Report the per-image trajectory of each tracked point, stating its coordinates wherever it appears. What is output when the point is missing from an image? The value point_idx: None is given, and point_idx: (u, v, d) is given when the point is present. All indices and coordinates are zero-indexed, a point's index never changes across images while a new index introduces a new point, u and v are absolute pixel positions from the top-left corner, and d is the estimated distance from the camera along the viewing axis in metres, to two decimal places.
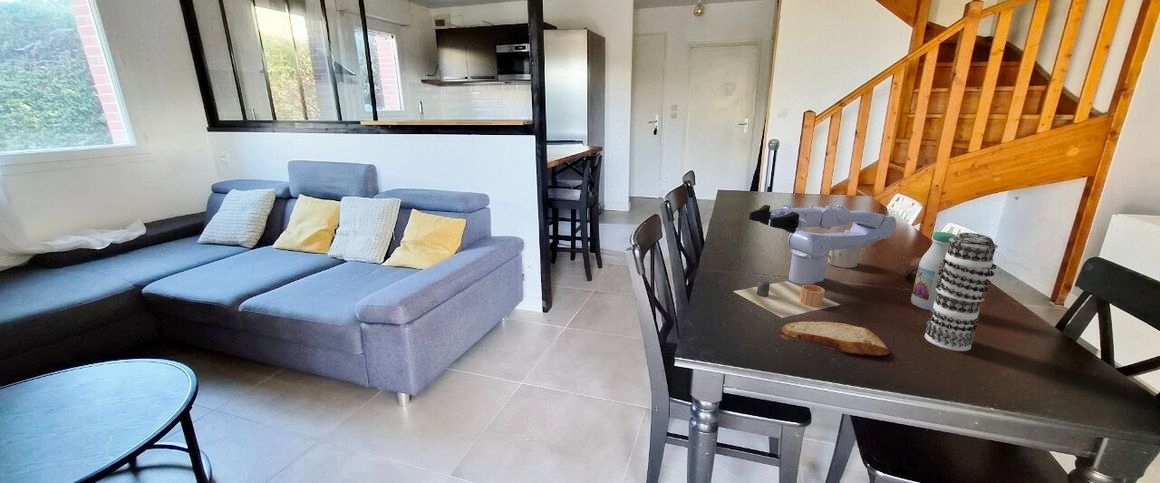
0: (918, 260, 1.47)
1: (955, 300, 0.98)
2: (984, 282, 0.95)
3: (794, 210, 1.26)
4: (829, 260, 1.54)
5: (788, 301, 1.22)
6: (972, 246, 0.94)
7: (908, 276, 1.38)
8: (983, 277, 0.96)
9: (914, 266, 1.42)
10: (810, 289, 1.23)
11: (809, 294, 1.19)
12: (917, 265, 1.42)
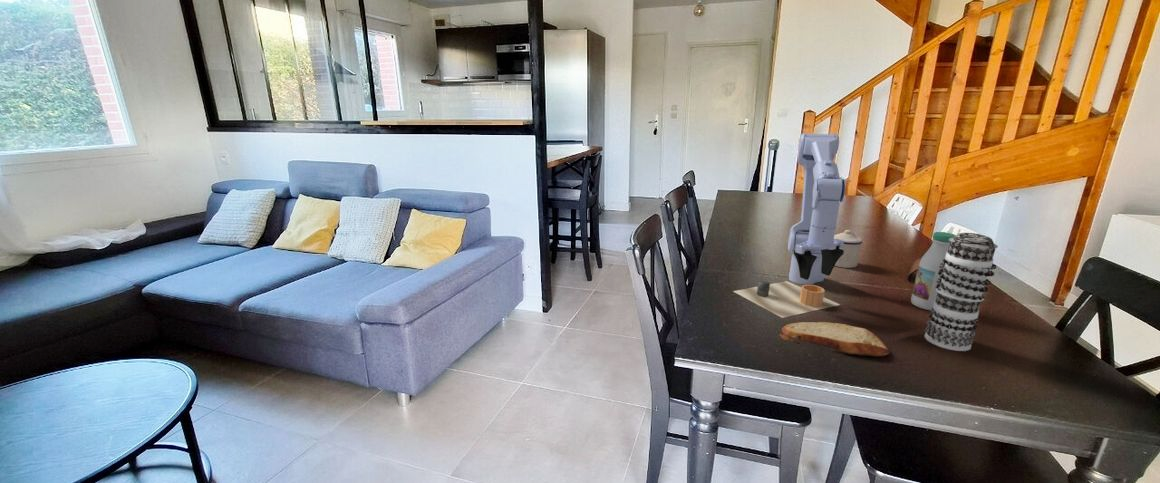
0: None
1: (955, 300, 0.98)
2: (984, 282, 0.95)
3: (833, 239, 1.15)
4: None
5: (788, 301, 1.22)
6: (972, 246, 0.94)
7: (910, 276, 1.38)
8: (983, 277, 0.96)
9: (916, 266, 1.41)
10: (810, 289, 1.23)
11: (809, 294, 1.19)
12: None
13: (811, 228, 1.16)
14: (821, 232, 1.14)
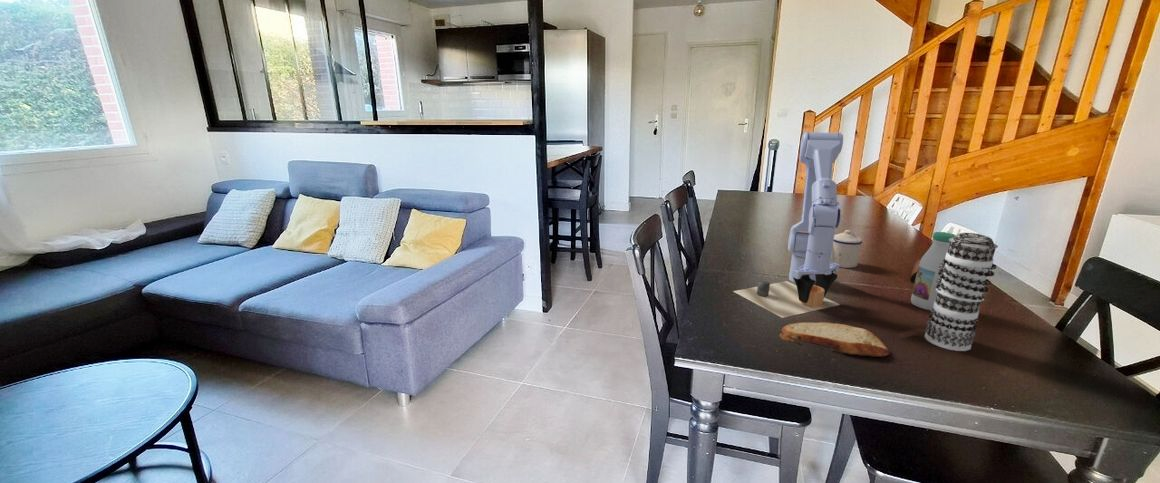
0: None
1: (955, 300, 0.98)
2: (984, 282, 0.95)
3: (829, 264, 1.17)
4: None
5: (788, 301, 1.22)
6: (972, 246, 0.94)
7: (912, 277, 1.38)
8: (983, 277, 0.96)
9: None
10: None
11: None
12: None
13: (807, 253, 1.18)
14: (817, 257, 1.16)
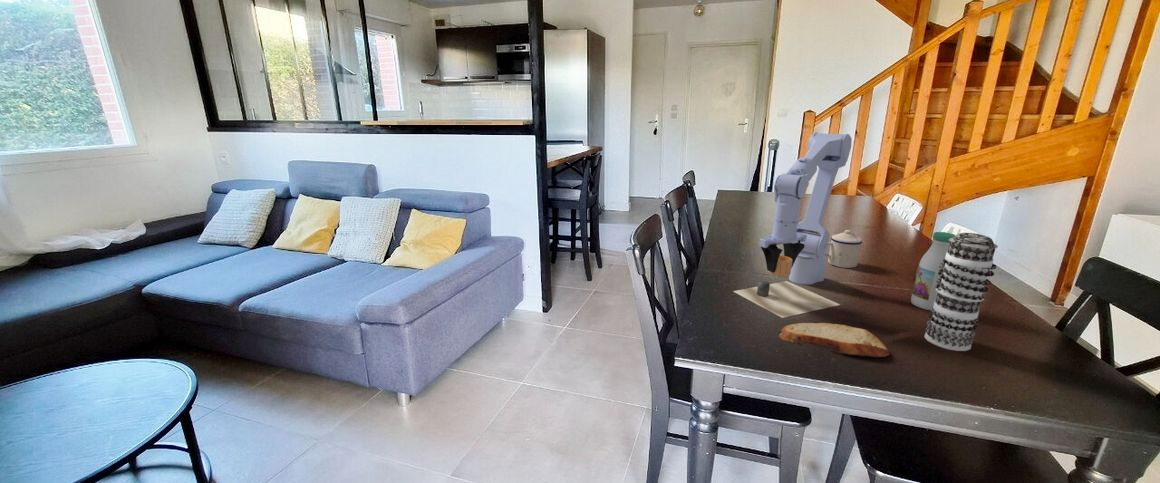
0: None
1: (955, 300, 0.98)
2: (984, 282, 0.95)
3: (795, 233, 1.18)
4: (829, 260, 1.54)
5: (788, 301, 1.22)
6: (972, 246, 0.94)
7: None
8: (983, 277, 0.96)
9: None
10: (779, 259, 1.24)
11: (777, 263, 1.20)
12: None
13: (774, 222, 1.19)
14: (784, 226, 1.17)
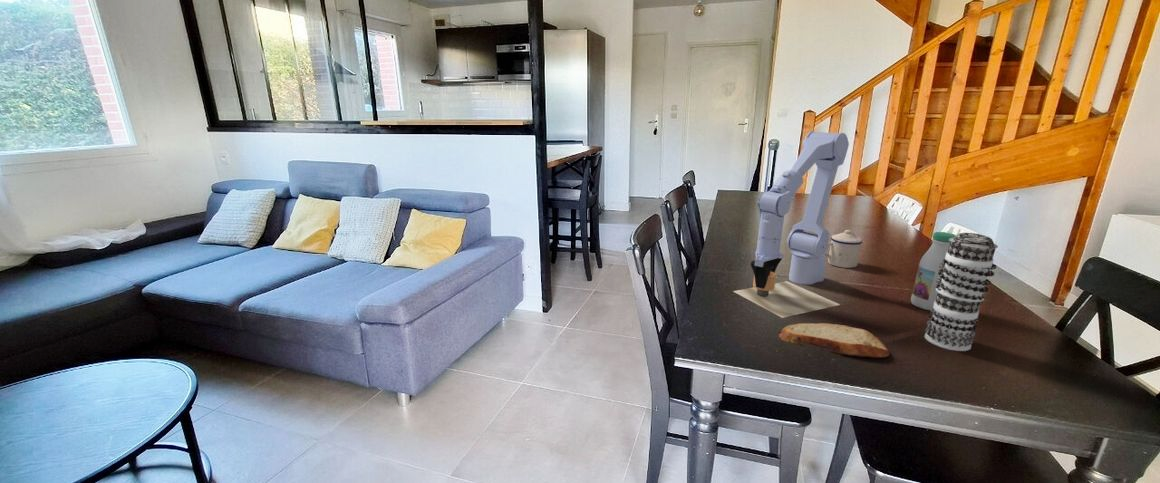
0: None
1: (955, 300, 0.98)
2: (984, 282, 0.95)
3: None
4: (829, 260, 1.54)
5: (788, 301, 1.22)
6: (972, 246, 0.94)
7: None
8: (983, 277, 0.96)
9: None
10: None
11: None
12: None
13: (762, 240, 1.21)
14: (773, 243, 1.20)
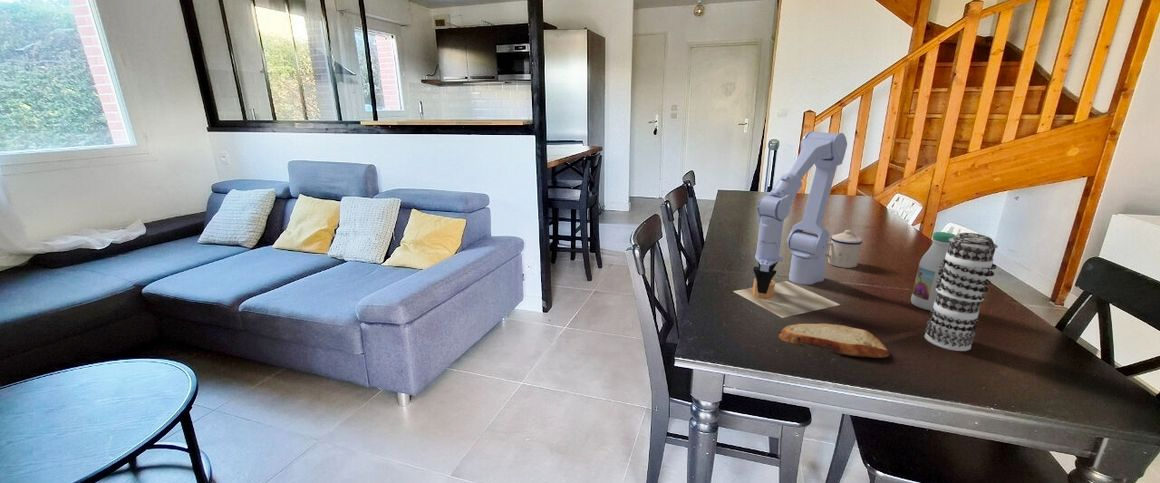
0: None
1: (955, 300, 0.98)
2: (984, 282, 0.95)
3: None
4: (829, 260, 1.54)
5: (788, 301, 1.22)
6: (972, 246, 0.94)
7: None
8: (983, 277, 0.96)
9: None
10: None
11: None
12: None
13: (763, 245, 1.21)
14: (775, 247, 1.20)
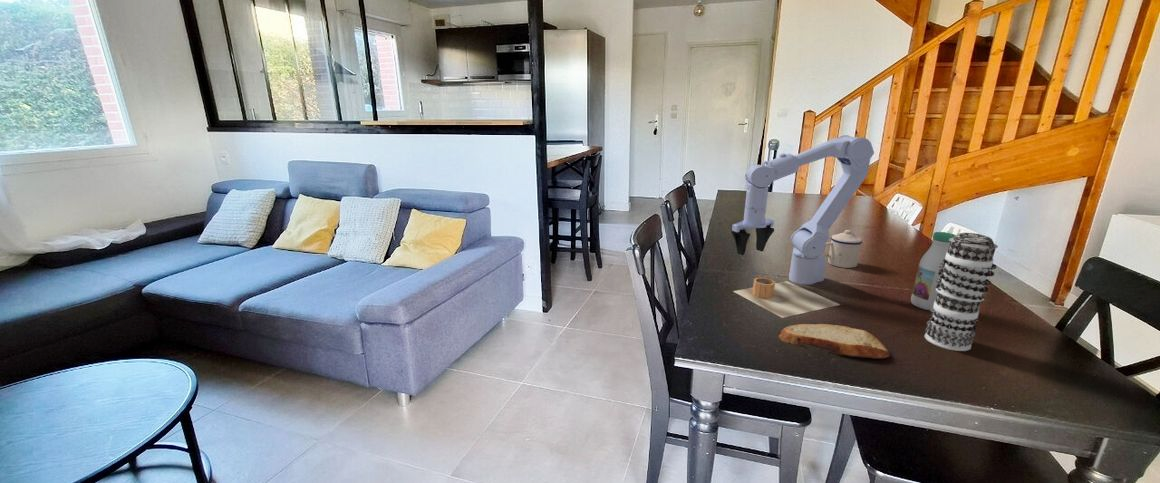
0: None
1: (955, 300, 0.98)
2: (984, 282, 0.95)
3: (764, 219, 1.31)
4: (829, 260, 1.54)
5: (788, 301, 1.22)
6: (972, 246, 0.94)
7: None
8: (983, 277, 0.96)
9: None
10: (757, 282, 1.28)
11: (768, 287, 1.23)
12: None
13: (745, 209, 1.32)
14: (753, 212, 1.30)
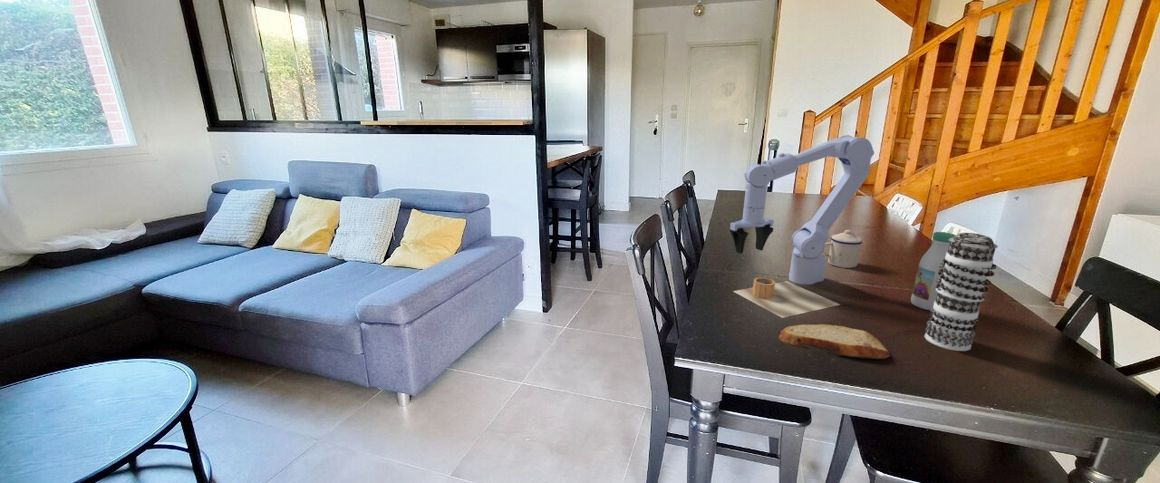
0: None
1: (955, 300, 0.98)
2: (984, 282, 0.95)
3: (762, 218, 1.32)
4: (829, 260, 1.54)
5: (788, 301, 1.22)
6: (972, 246, 0.94)
7: None
8: (983, 277, 0.96)
9: None
10: (757, 282, 1.28)
11: (768, 287, 1.23)
12: None
13: (744, 208, 1.33)
14: (751, 211, 1.31)
